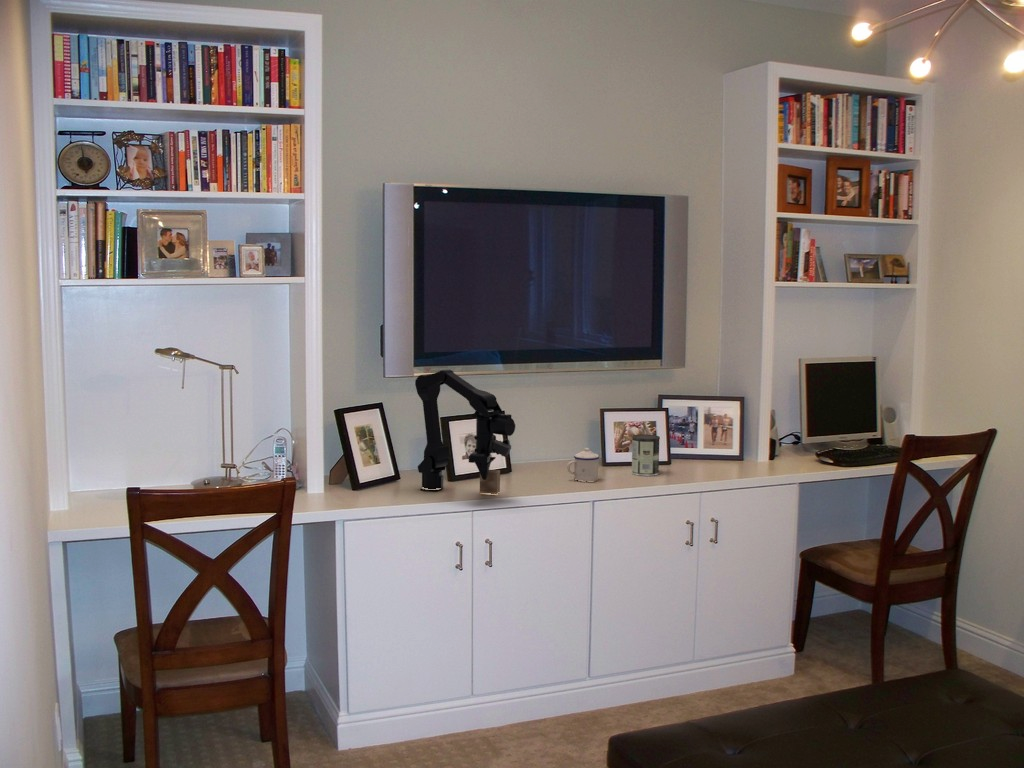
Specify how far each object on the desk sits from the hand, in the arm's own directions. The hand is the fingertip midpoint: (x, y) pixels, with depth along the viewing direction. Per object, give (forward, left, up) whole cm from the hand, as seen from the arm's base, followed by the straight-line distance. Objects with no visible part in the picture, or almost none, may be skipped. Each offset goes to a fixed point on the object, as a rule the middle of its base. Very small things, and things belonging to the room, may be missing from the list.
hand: (484, 479), depth 304 cm
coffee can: (+48, +55, -7) cm, 73 cm away
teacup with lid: (+27, +37, -7) cm, 46 cm away
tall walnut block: (0, +7, -6) cm, 10 cm away
